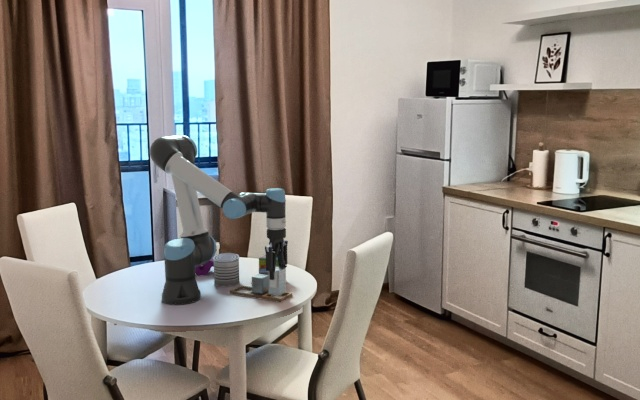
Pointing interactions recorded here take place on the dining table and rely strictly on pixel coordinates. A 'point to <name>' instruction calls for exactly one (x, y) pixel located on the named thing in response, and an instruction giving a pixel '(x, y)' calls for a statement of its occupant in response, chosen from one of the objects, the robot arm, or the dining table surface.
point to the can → (226, 269)
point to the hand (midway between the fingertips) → (277, 285)
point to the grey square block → (278, 282)
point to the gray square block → (260, 284)
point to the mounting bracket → (204, 268)
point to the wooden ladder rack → (265, 297)
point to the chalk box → (264, 265)
